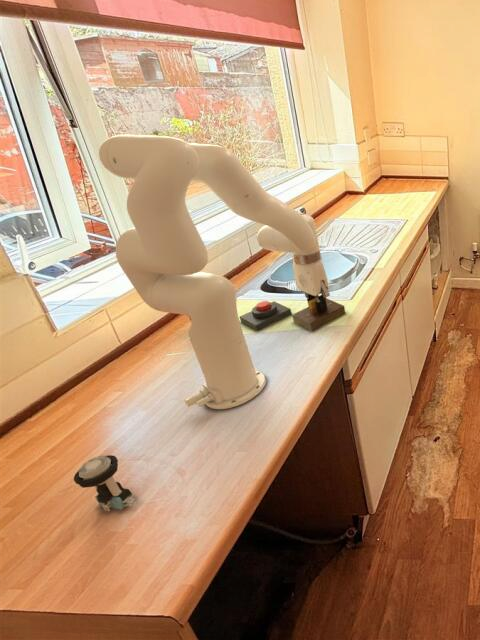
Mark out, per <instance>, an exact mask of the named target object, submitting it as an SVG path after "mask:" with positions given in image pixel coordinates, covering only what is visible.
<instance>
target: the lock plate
mask: <svg viewBox="0 0 480 640" xmlns="http://www.w3.org/2000/svg"><path fill="white" fill-rule="evenodd" d="M326 304H327V310H325V311H323V312H321V313H317V312H316V313H314V314H311V313H310V310H309V306H307V307H305V308H303V309H301V310H299V311H297V312H295V313H292V320H293V323H294V324H296V325H298V326H300V327H302V328H304V329H306V330H308V331H310V332H314V331H316V330H318V329H320V328H321V327H323V326H326V325H327V324H329V323H331V322H332V321H334V320H336V319H339V318H340V317H341V316H343V315H345V314H346V309H345V305H343V304H341V303H338V302H336V301H334V300H331V299H329V298H328V297H326Z"/></svg>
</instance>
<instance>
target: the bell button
mask: <svg viewBox="0 0 480 640" xmlns="http://www.w3.org/2000/svg"><path fill="white" fill-rule="evenodd" d="M270 303H271V301H268V300H264V301H261V302H260V301H259V302H258V303H257V304H256V305H255V306H257V310H258V311H266V310H268V309H270V308H271V306H270Z"/></svg>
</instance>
